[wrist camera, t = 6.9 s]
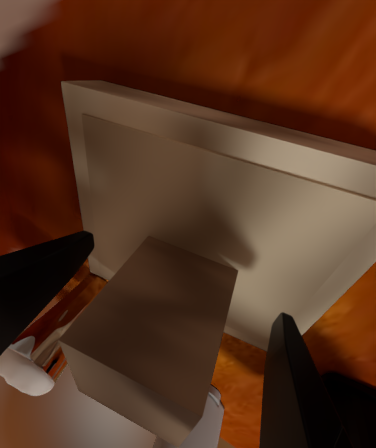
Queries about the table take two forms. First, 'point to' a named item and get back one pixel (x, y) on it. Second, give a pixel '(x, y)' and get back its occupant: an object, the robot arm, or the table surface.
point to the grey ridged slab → (202, 426)
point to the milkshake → (46, 342)
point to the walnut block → (153, 338)
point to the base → (224, 199)
